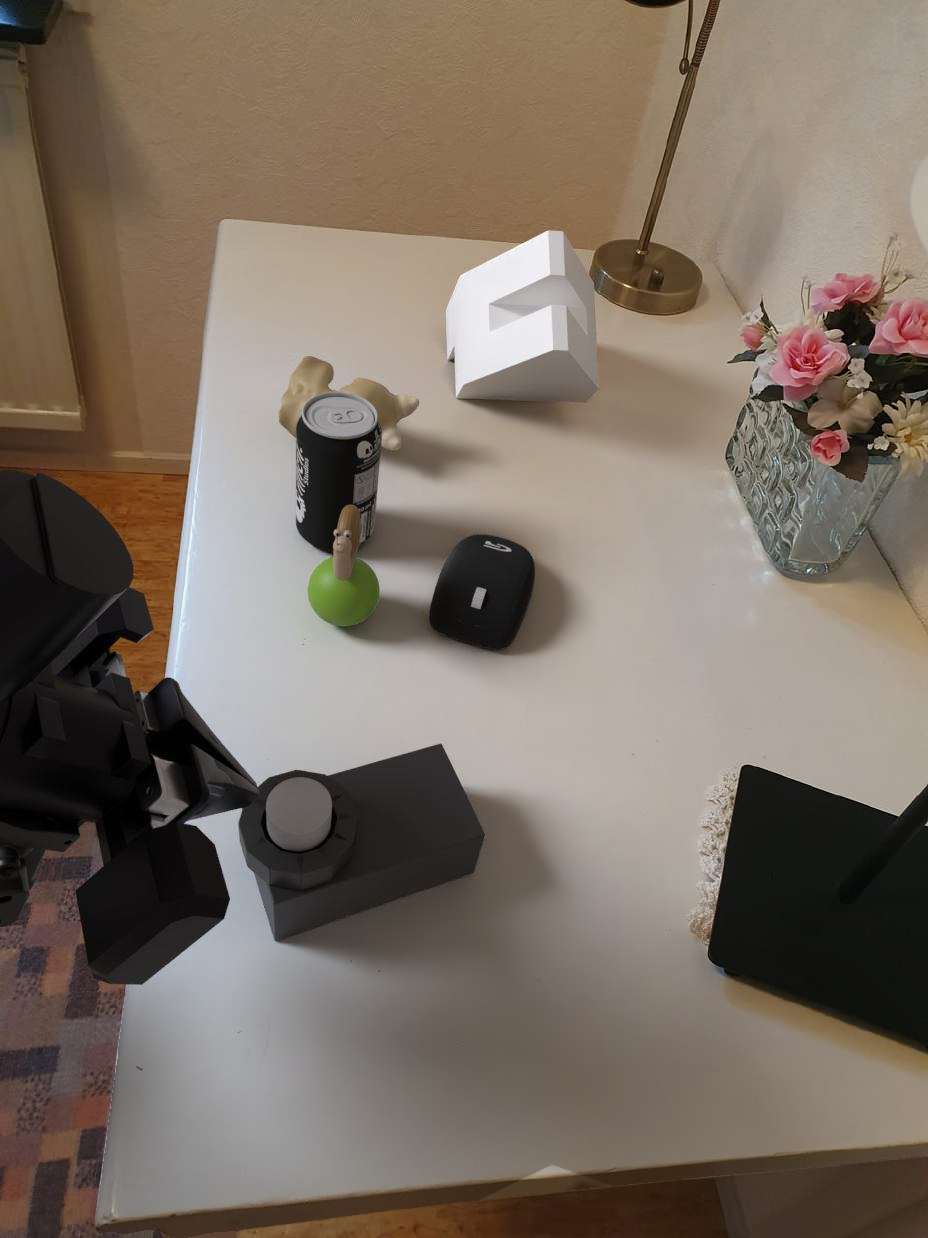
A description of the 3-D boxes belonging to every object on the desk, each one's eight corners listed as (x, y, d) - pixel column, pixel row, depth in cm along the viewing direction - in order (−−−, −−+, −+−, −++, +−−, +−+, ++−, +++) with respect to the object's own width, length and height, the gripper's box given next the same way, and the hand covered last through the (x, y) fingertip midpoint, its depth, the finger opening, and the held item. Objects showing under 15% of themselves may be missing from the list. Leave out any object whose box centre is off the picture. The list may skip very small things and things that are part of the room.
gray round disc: (276, 860, 51) (276, 842, 49) (259, 806, 53) (258, 787, 52) (339, 840, 52) (340, 822, 51) (319, 788, 54) (320, 769, 53)
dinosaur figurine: (308, 344, 87) (416, 358, 81) (335, 400, 92) (438, 417, 87) (262, 405, 83) (372, 424, 78) (294, 460, 89) (398, 481, 84)
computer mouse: (543, 561, 80) (552, 526, 77) (511, 660, 72) (520, 626, 69) (460, 537, 80) (466, 502, 78) (419, 633, 72) (424, 598, 69)
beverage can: (287, 510, 80) (286, 392, 71) (360, 500, 82) (368, 384, 73) (307, 563, 76) (308, 444, 67) (383, 550, 78) (394, 434, 69)
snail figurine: (300, 646, 70) (301, 528, 61) (312, 586, 74) (315, 467, 65) (372, 654, 70) (383, 538, 61) (380, 594, 75) (391, 477, 66)
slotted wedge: (448, 410, 99) (484, 346, 81) (445, 310, 100) (480, 225, 82) (573, 414, 101) (634, 353, 84) (569, 316, 102) (628, 235, 85)
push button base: (262, 946, 54) (258, 892, 49) (232, 845, 58) (226, 785, 53) (474, 873, 59) (491, 817, 54) (433, 784, 63) (445, 724, 58)
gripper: (-152, 672, 44) (121, 745, 56) (-146, 1061, 33) (191, 1047, 45) (-10, 520, 41) (246, 631, 53) (47, 890, 30) (352, 924, 42)
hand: (252, 795), depth 49 cm, fingers closed
